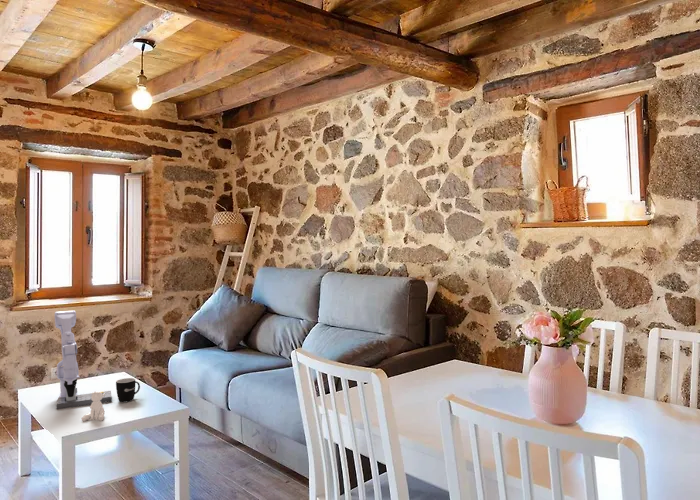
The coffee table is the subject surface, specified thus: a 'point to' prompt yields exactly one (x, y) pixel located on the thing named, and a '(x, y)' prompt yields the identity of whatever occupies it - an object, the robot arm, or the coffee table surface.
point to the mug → (126, 389)
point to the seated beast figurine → (95, 408)
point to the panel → (82, 400)
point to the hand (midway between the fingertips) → (71, 395)
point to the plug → (71, 397)
